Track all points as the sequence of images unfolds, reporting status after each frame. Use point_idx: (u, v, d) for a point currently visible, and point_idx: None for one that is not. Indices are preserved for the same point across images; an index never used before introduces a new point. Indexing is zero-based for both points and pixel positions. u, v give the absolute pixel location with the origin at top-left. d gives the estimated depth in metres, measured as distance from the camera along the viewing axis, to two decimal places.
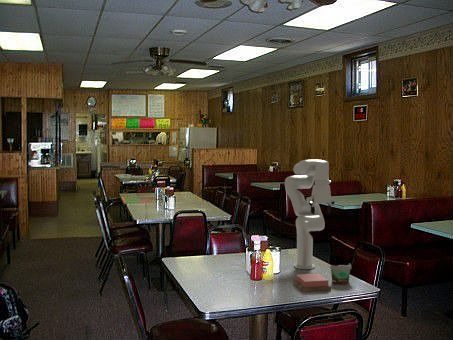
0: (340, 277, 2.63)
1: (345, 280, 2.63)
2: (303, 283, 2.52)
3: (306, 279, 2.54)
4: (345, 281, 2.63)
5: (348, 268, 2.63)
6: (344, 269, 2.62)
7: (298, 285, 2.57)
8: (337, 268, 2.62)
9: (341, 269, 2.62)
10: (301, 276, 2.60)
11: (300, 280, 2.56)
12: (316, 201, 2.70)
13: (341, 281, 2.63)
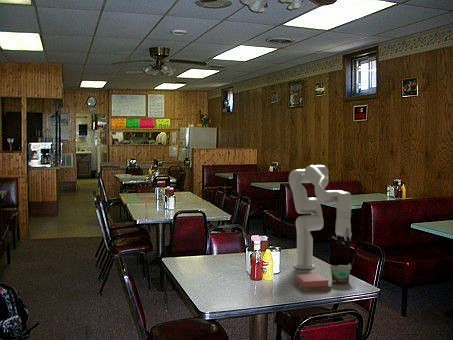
0: (340, 277, 2.63)
1: (345, 280, 2.63)
2: (303, 283, 2.52)
3: (305, 279, 2.54)
4: (345, 281, 2.63)
5: (348, 268, 2.63)
6: (344, 269, 2.62)
7: (298, 285, 2.57)
8: (337, 268, 2.62)
9: (341, 269, 2.62)
10: (301, 276, 2.59)
11: (300, 280, 2.56)
12: None
13: (341, 281, 2.63)
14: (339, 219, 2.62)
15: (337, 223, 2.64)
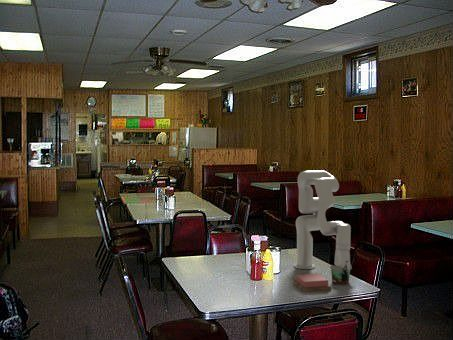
0: (340, 277, 2.63)
1: None
2: (303, 283, 2.52)
3: (305, 279, 2.54)
4: (345, 281, 2.63)
5: None
6: (344, 269, 2.62)
7: (298, 285, 2.57)
8: (337, 268, 2.62)
9: (341, 269, 2.61)
10: (301, 276, 2.59)
11: (300, 280, 2.56)
12: None
13: (341, 281, 2.63)
14: (338, 251, 2.63)
15: (336, 254, 2.65)
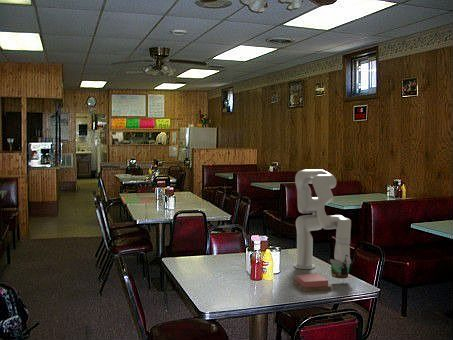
0: (340, 271, 2.63)
1: None
2: (303, 283, 2.52)
3: (305, 279, 2.54)
4: (345, 275, 2.64)
5: None
6: (344, 263, 2.62)
7: (298, 285, 2.57)
8: (337, 262, 2.62)
9: (341, 263, 2.61)
10: (301, 276, 2.59)
11: (300, 280, 2.56)
12: None
13: (341, 275, 2.63)
14: (338, 245, 2.63)
15: (336, 248, 2.65)
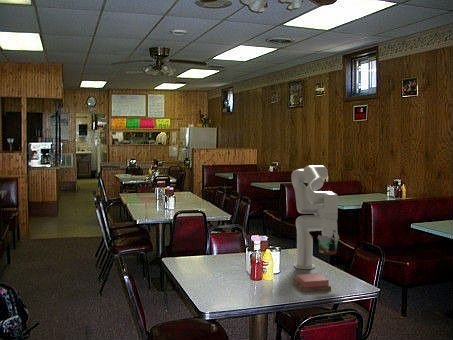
0: (328, 247, 2.58)
1: None
2: (303, 283, 2.52)
3: (306, 279, 2.54)
4: (333, 251, 2.59)
5: None
6: (332, 239, 2.57)
7: (298, 285, 2.57)
8: (325, 238, 2.57)
9: (329, 239, 2.57)
10: (301, 276, 2.59)
11: (300, 280, 2.56)
12: None
13: (329, 251, 2.58)
14: (326, 221, 2.58)
15: (323, 225, 2.61)
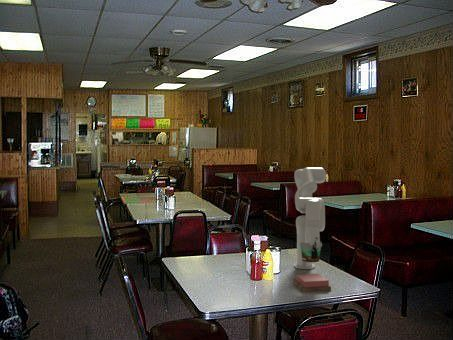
0: (310, 255, 2.54)
1: None
2: (303, 283, 2.52)
3: (306, 279, 2.54)
4: (315, 259, 2.55)
5: None
6: (314, 246, 2.53)
7: (298, 285, 2.57)
8: (307, 245, 2.54)
9: (311, 246, 2.53)
10: (301, 276, 2.59)
11: (300, 280, 2.56)
12: None
13: (311, 259, 2.55)
14: (308, 228, 2.55)
15: (306, 232, 2.57)
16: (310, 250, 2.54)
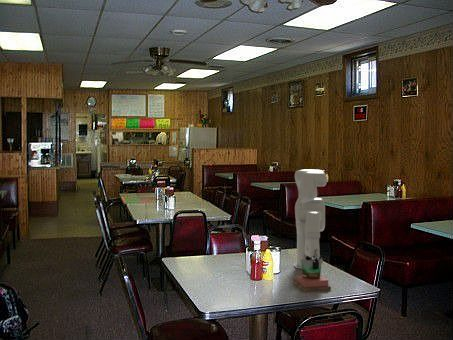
0: (311, 272, 2.54)
1: (316, 275, 2.55)
2: (303, 283, 2.52)
3: (305, 279, 2.55)
4: (316, 276, 2.55)
5: (319, 262, 2.54)
6: None
7: (298, 285, 2.57)
8: (307, 262, 2.54)
9: (311, 263, 2.53)
10: (301, 276, 2.60)
11: (300, 280, 2.57)
12: None
13: (312, 276, 2.54)
14: (308, 239, 2.55)
15: (306, 243, 2.58)
16: (311, 267, 2.54)
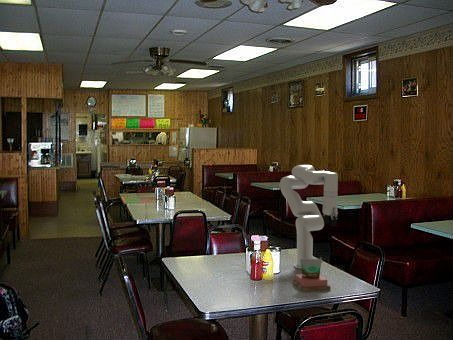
0: (310, 271, 2.55)
1: (315, 274, 2.55)
2: (302, 283, 2.53)
3: (305, 278, 2.55)
4: (315, 275, 2.55)
5: (318, 262, 2.54)
6: (314, 263, 2.53)
7: (298, 285, 2.57)
8: (307, 262, 2.54)
9: (311, 263, 2.53)
10: (300, 276, 2.60)
11: (299, 280, 2.57)
12: None
13: (311, 275, 2.55)
14: (326, 199, 2.71)
15: (324, 203, 2.73)
16: (310, 267, 2.54)
